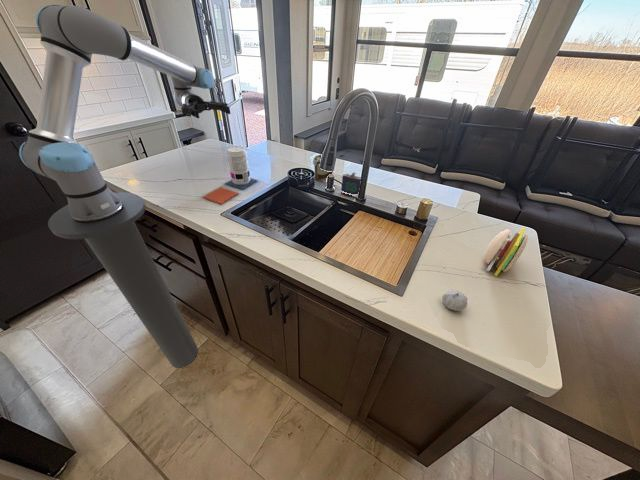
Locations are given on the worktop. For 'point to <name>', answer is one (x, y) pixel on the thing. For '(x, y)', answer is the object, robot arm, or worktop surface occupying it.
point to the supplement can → (238, 165)
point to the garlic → (455, 300)
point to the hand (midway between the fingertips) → (214, 112)
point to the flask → (350, 184)
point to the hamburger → (505, 250)
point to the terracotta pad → (220, 195)
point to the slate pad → (241, 185)
